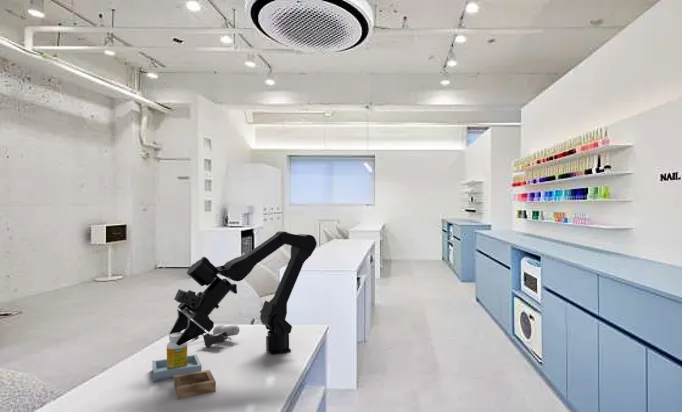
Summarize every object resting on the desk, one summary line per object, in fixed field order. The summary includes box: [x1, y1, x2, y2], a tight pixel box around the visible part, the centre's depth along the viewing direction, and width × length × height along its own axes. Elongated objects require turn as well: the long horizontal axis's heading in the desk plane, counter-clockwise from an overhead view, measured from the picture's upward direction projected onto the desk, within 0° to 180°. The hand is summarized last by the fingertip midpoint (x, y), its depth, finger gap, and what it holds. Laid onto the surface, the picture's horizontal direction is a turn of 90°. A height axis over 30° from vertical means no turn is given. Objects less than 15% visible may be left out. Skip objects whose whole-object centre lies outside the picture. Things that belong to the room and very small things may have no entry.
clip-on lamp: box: [191, 324, 240, 349], centre depth 146 cm, size 12×6×18 cm
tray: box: [152, 354, 203, 383], centre depth 119 cm, size 12×10×2 cm
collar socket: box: [173, 369, 217, 400], centre depth 107 cm, size 9×9×2 cm
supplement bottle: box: [166, 331, 188, 370], centre depth 119 cm, size 5×5×10 cm
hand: (173, 340), depth 118 cm, fingers open, 9 cm apart
